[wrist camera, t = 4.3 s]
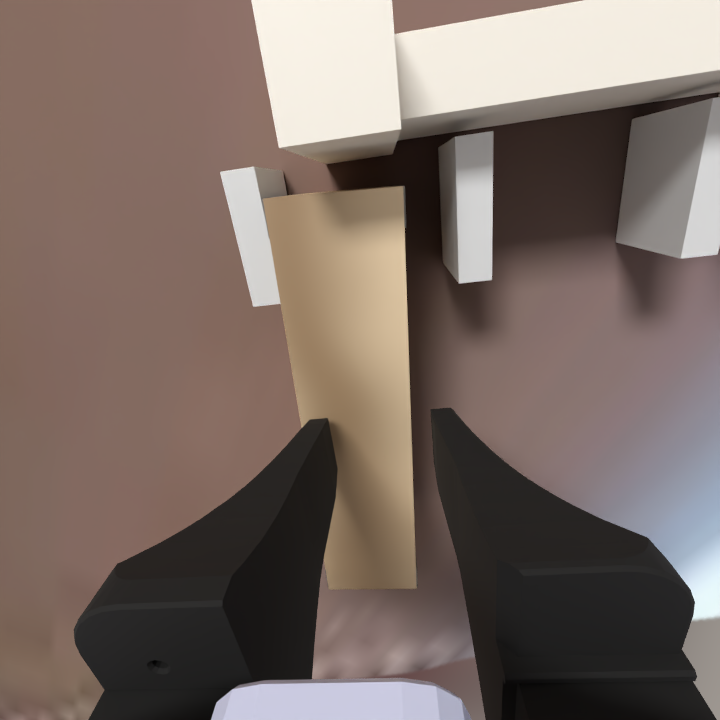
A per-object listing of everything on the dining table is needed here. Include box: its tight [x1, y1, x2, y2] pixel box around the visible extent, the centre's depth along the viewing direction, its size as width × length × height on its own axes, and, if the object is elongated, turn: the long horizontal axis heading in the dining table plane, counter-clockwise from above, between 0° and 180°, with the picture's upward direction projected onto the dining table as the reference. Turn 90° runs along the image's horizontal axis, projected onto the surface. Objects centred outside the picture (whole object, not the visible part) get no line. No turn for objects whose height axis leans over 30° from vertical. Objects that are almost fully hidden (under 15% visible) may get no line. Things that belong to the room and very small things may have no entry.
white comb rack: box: [220, 0, 720, 307], centre depth 10 cm, size 21×6×7 cm, turn 97°
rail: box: [262, 185, 418, 589], centre depth 15 cm, size 4×15×5 cm, turn 5°
